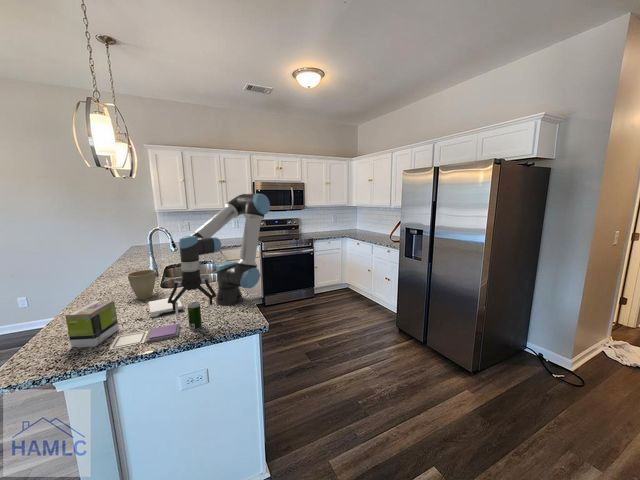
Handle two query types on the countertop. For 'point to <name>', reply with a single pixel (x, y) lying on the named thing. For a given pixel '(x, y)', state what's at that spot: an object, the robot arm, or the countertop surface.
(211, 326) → the countertop surface
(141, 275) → the plant pot
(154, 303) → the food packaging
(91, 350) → the countertop surface
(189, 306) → the beer can
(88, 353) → the countertop surface
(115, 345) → the print sheet
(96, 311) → the tea box
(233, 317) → the countertop surface
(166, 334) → the ink pad
